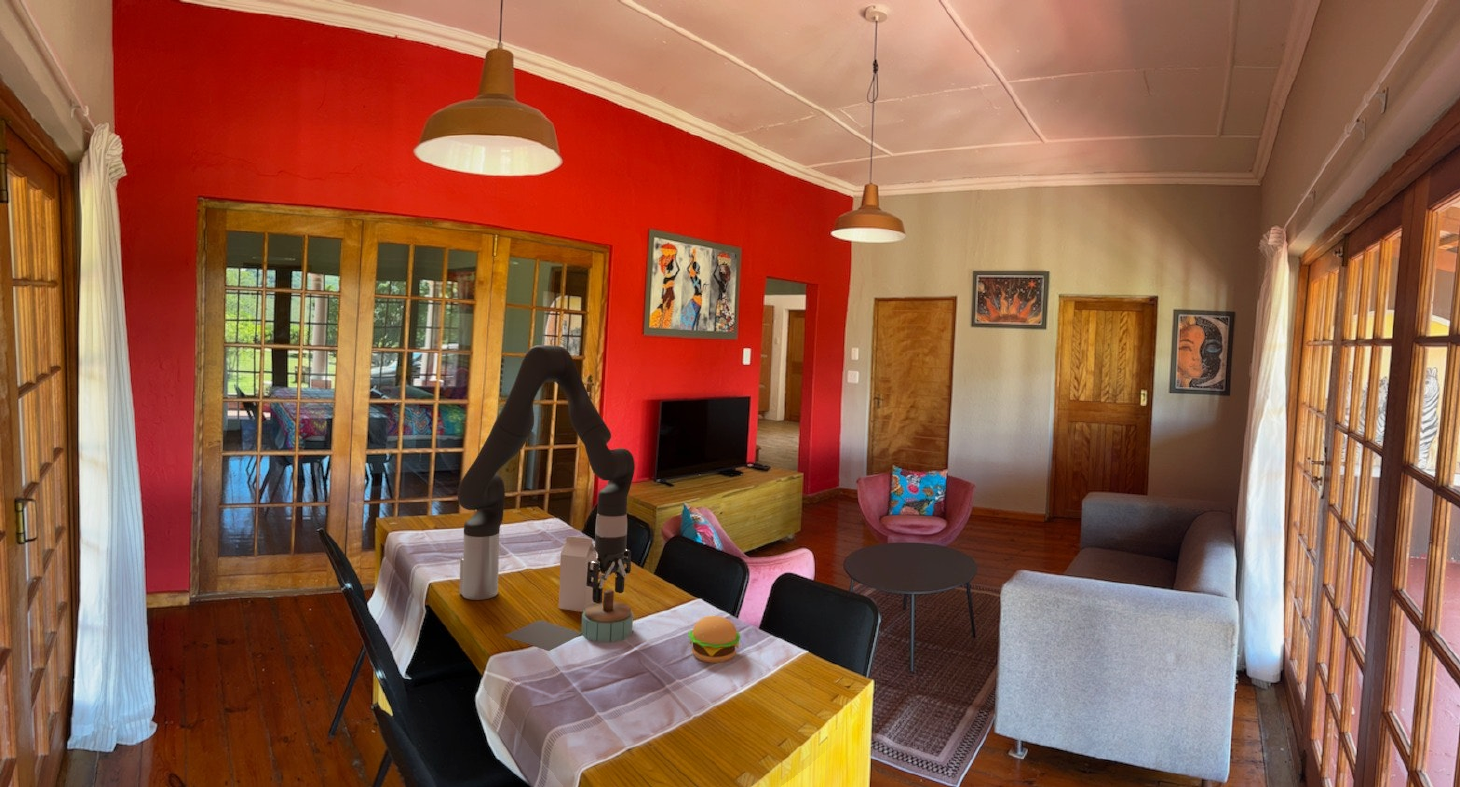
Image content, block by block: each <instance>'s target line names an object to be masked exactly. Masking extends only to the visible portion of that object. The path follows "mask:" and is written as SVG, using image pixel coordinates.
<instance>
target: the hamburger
mask: <svg viewBox="0 0 1460 787" xmlns="http://www.w3.org/2000/svg"><path fill="white" fill-rule="evenodd" d="M688 638H689V639H690V641H689V644H690V645H692V646H691V652H692V655H693V656H694V657H695V658H696V659H698V660H700V661H702V662H705V663H712V664H718V663H719V664H720V663H721V664H722V663H725V662H729V661H730V660H732V659H733V657H735V655H736V651H737V650H736V648H737V649H739V646H740V640H741V635H740V632H739V631H738V630H737V628H736V625H735V624H734V623H733V622H732V621H731V620H729V619H728V618H726V617H723V616H719V615H710V616H709V615H708V616H705V617H703V618H701V619H700V620H698V621H696V623H695V624H694V626H693V627H692V630H690V631H689V632H688Z"/></svg>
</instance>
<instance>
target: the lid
mask: <svg viewBox="0 0 1460 787" xmlns="http://www.w3.org/2000/svg"><path fill="white" fill-rule="evenodd" d="M614 598H615V590H611V589H607V590H604V591H603V598H602V602H601V603H599V604H598V603H594V604H591V605H589V606H587V607H586V609H585V616H586V618H588V619H589V620H592V621H595V622H602V623H613V622H619V621H623V620H625V619H627V618H629V617H630V615H631V611H632V609H631V607H630V606H629V605H627V604H625V603H623V602H618V601H614V600H615V599H614Z"/></svg>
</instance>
